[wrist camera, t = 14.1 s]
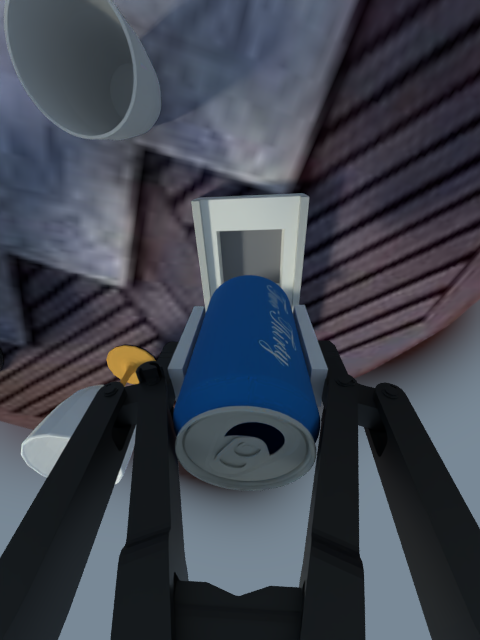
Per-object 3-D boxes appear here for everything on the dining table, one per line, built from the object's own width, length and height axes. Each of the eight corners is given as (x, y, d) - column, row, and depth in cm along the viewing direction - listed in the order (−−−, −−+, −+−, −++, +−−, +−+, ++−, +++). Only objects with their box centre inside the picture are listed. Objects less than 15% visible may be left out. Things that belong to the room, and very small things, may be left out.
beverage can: (306, 298, 19) (365, 446, 9) (260, 352, 22) (265, 508, 12) (235, 254, 18) (211, 374, 7) (196, 318, 21) (140, 465, 11)
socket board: (214, 337, 39) (211, 352, 36) (198, 197, 29) (191, 201, 25) (291, 336, 38) (294, 352, 35) (302, 193, 28) (309, 196, 25)
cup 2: (146, 397, 48) (100, 498, 33) (88, 366, 44) (8, 464, 30) (179, 363, 43) (140, 465, 28) (117, 326, 39) (36, 420, 24)
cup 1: (114, 10, 21) (21, -95, 13) (193, 89, 24) (158, 45, 15) (81, 106, 25) (-8, 74, 16) (152, 166, 27) (107, 166, 19)
